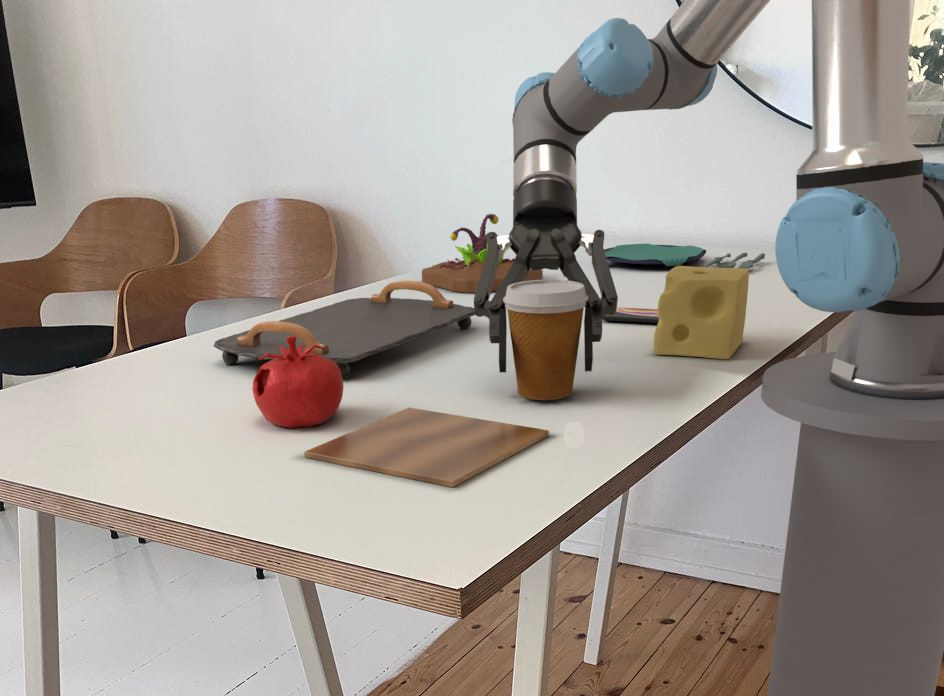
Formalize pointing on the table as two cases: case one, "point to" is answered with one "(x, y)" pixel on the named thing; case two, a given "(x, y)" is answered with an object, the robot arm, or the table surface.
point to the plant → (471, 265)
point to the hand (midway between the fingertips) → (545, 365)
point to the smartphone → (634, 315)
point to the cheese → (702, 312)
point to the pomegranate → (298, 387)
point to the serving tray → (352, 327)
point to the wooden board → (428, 446)
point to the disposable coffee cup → (545, 335)
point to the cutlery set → (670, 255)
